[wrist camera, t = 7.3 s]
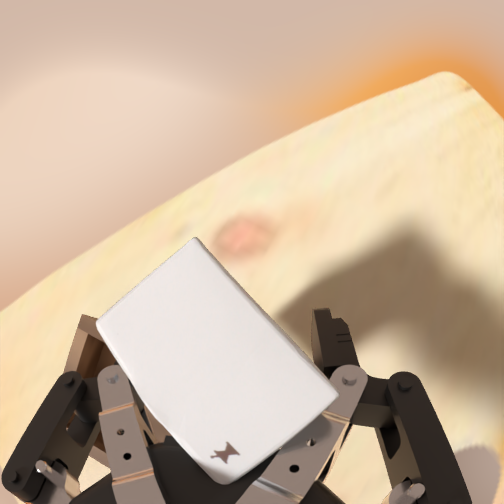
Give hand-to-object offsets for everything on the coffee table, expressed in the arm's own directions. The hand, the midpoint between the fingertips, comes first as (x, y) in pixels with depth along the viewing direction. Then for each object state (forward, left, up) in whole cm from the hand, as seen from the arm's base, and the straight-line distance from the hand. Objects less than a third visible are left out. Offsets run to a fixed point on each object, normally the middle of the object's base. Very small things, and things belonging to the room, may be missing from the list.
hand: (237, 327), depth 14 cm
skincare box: (+1, +1, -6) cm, 6 cm away
